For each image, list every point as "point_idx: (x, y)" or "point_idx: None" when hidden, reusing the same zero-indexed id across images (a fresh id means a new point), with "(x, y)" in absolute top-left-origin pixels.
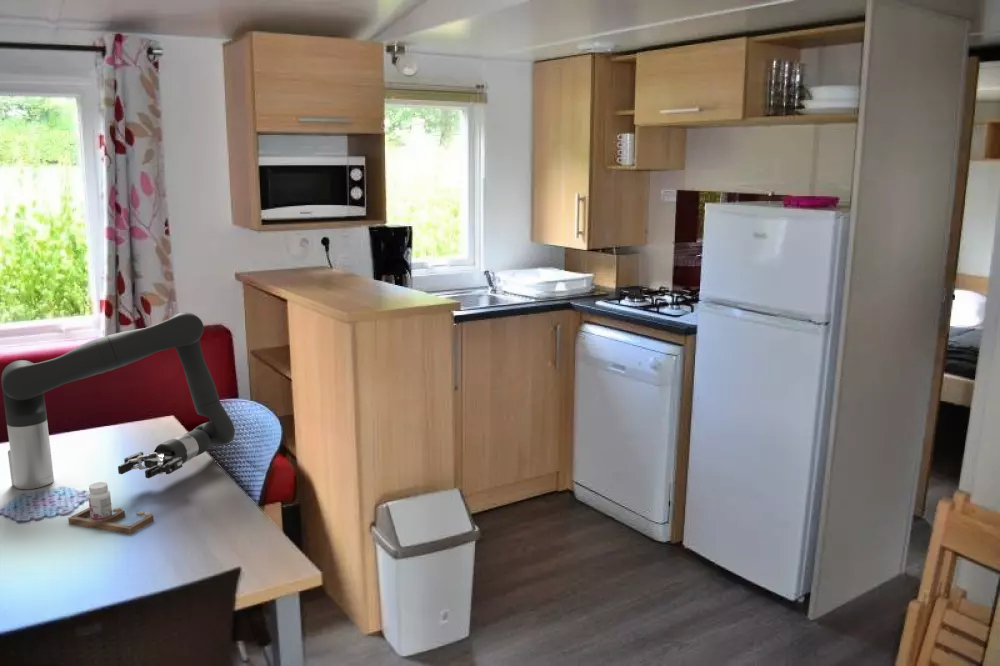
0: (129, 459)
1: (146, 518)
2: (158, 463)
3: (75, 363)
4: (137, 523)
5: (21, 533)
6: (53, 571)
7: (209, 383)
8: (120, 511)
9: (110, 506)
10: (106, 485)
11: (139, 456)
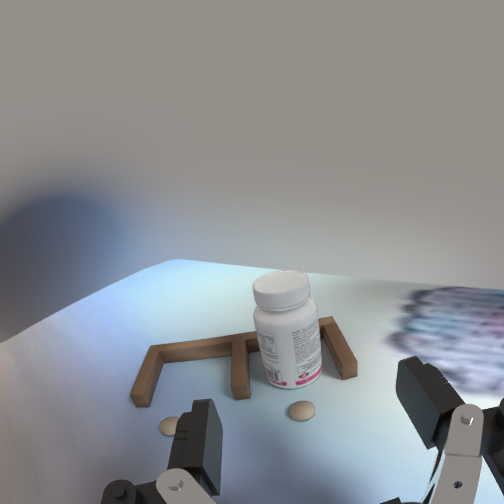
0: (473, 410)
1: (139, 380)
2: (199, 494)
3: None
4: (147, 361)
5: (364, 287)
6: (199, 283)
7: None
8: (239, 379)
9: (262, 355)
10: (254, 290)
11: (464, 463)
